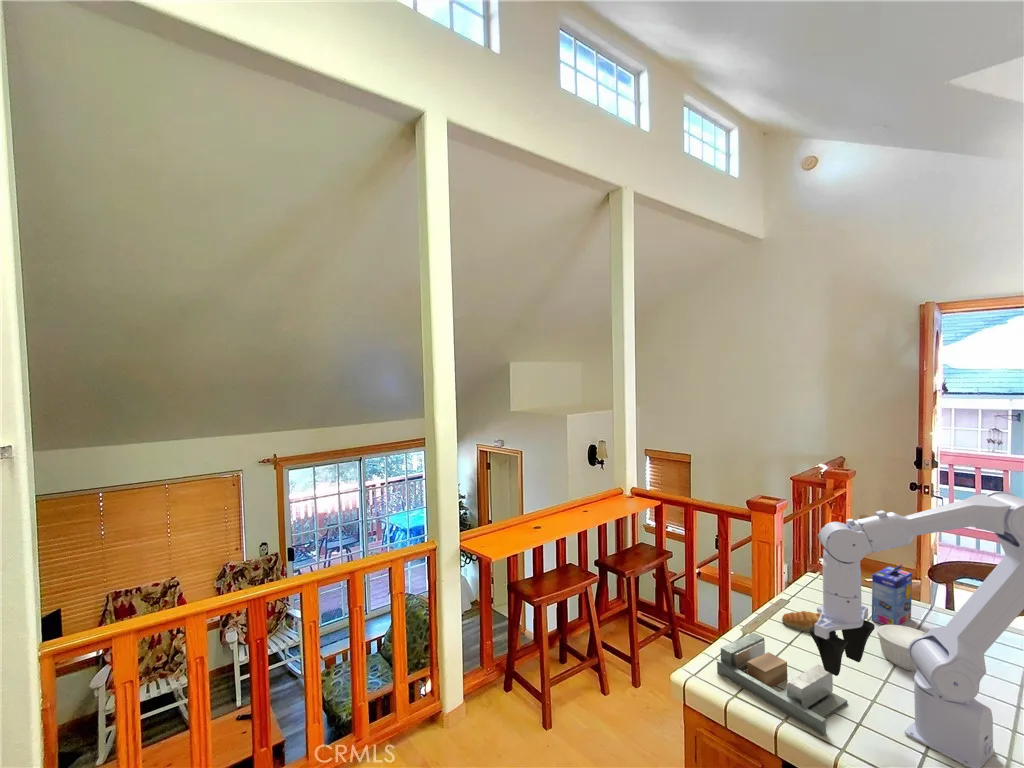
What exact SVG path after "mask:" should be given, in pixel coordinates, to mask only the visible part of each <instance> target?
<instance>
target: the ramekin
mask: <svg viewBox="0 0 1024 768" xmlns="http://www.w3.org/2000/svg"><path fill="white" fill-rule="evenodd" d="M876 632H877V633H876V634H877V636H878V639H879V644H880V648H881V649H880V650H881V652H882V655H884V657H885V659H887V660H888V661H889V662H890V663H892V664H893V665H896V666H897V667H900V668H902V669H903V670H904V669H905V670H907V671H910V672H914V673H916V671H917V667H916V665H915V664H914V663H913V662H912V660H911V659H910V657H909V653H908V647H909V645H910V643H911V642H912V641H913V640H914V639H916V638H918V637H921V636H923V635H925V634H927V633H928V632H925V631H922V630H920V629H916V628H913V627H910V626H905V625H902V626H900V625H880V626H879V627H878V628H877V630H876Z"/></svg>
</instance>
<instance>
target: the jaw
mask: <svg viewBox="0 0 1024 768" xmlns="http://www.w3.org/2000/svg"><path fill="white" fill-rule="evenodd" d="M833 680H834V679H833V674H831V673H829V672H827V671H825V670H824V667H823V665H821V664H817V665H815V666H814V667H813V666H812V667H811V668H810V669H807V670H806V671H805V672H803V673H801V674H799V675H797V676H796V677H793V678H792V679H791V680H789V681H786V688H787V697H788V698H790V699H792V700H793V701H795V702H797V703H799V704H800V705H802V706H804V707H806V708H807V707H809V706H811V705H812V704H814V703H815V702H817V701H818V700H820V699H822V698H823V697H825V696H826V695H828V694H829V693H831V692H832V693H833V688H834V686H833V685H834V683H833Z"/></svg>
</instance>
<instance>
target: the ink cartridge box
mask: <svg viewBox="0 0 1024 768" xmlns="http://www.w3.org/2000/svg"><path fill="white" fill-rule="evenodd" d="M902 566H903V564H900V565H898V566H895V567H893V566H886V567H884V568H882V569H881V570H878V571H876V572H875V573H872V576H871V577H872V580H871V583H872V584H871V621H872V622H875V623H878V624H879V625H881V626H883V625H900V626H904V624H907V623H909V622H910V621H911V620H912V594H913V590H912V589H913V586H912V585H913V573H912V572H909V571H906V570H904V569H901V568H902Z"/></svg>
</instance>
